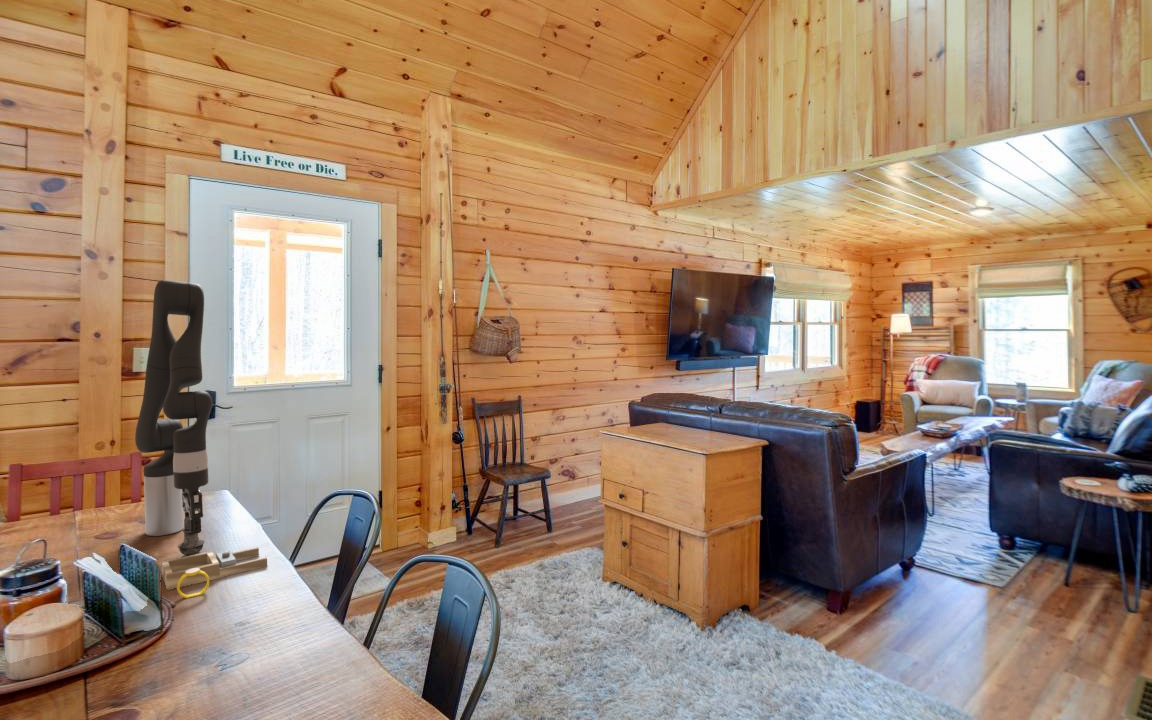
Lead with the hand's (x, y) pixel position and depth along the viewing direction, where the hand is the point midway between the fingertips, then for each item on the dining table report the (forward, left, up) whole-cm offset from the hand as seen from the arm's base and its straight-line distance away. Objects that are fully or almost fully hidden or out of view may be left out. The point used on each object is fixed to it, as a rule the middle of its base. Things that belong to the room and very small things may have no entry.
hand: (193, 529), depth 150 cm
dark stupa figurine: (0, 0, -8) cm, 8 cm away
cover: (+14, +5, -8) cm, 16 cm away
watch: (+26, -3, -8) cm, 27 cm away
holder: (+14, +3, -8) cm, 16 cm away
